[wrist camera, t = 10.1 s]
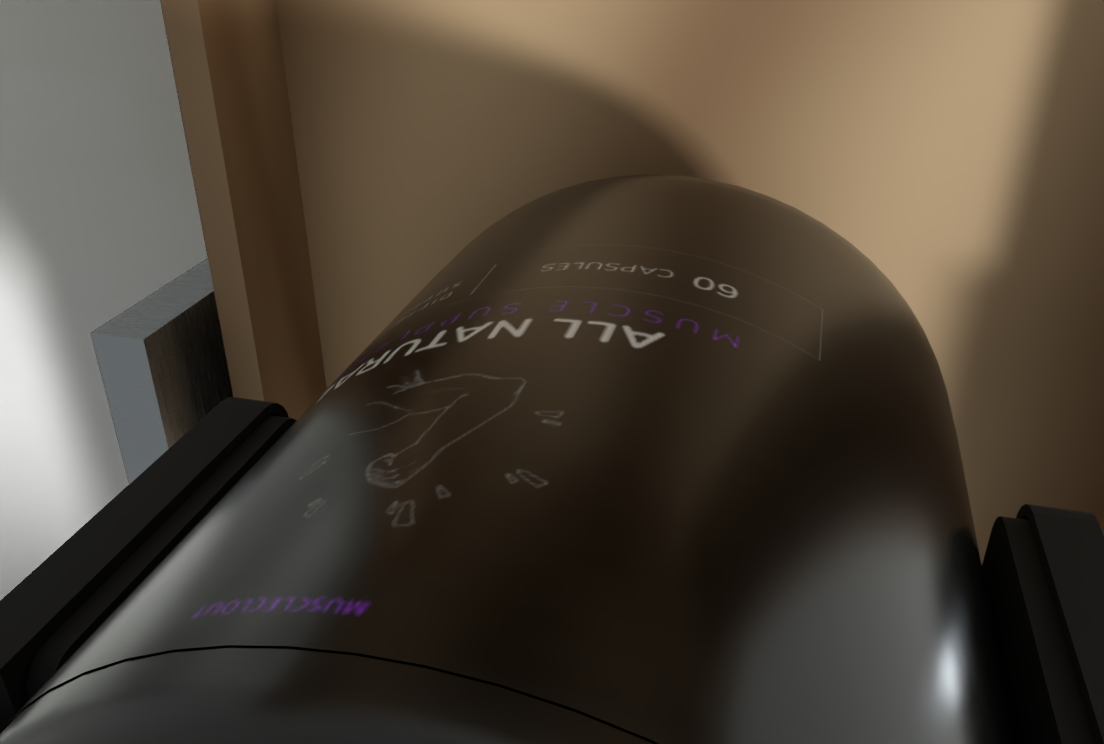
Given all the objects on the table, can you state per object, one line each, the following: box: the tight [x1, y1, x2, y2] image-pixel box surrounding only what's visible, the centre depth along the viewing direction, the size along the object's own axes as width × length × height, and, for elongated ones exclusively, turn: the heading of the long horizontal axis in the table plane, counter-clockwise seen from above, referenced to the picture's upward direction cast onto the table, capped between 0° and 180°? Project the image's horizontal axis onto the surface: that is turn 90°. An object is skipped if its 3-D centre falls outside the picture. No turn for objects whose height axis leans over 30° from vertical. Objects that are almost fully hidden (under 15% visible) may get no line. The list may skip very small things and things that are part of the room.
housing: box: [91, 258, 233, 484], centre depth 17 cm, size 15×16×5 cm
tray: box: [160, 0, 1104, 565], centre depth 10 cm, size 15×16×7 cm
